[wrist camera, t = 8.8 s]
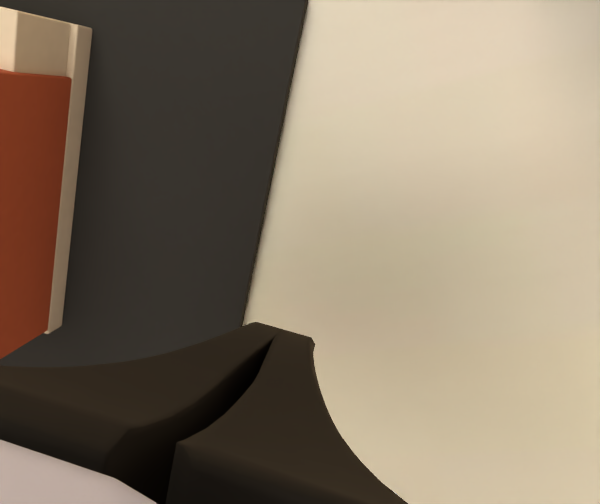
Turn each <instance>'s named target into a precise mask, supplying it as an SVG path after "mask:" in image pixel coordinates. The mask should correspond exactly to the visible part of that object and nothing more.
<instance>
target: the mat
mask: <svg viewBox="0 0 600 504" xmlns="http://www.w3.org/2000/svg"><path fill="white" fill-rule="evenodd" d="M307 3H308V0H0V7H4V8H9V9H13V10H18V11H22V12H26V13H30V14H34V15H39V16H43V17H47V18H51V19H55V20H59V21H64V22H68V23H72V24H77V25H81V26H85V27H89V28H91V29H92V39H91V49H90V58H89V68H88V78H87V87H86V97H85V107H84V116H83V126H82V135H81V145H80V155H79V164H78V174H77V184H76V193H75V203H74V213H73V222H72V232H71V241H70V251H69V261H68V270H67V280H66V290H65V299H64V309H63V318H62V325H61V326H60V327H59V328H57V329H55V330H54V331H52V332H51V333H49V334H45V333H42V334H41V335H39V336H37V337H36V338H34V339H32V340H31V341H29V342H28V343H26V344H24V345H23V346H21V347H19V348H18V349H16V350H14V351H13V352H11V353H9V354H8V355H6V356H5V357H3V358H1V359H0V365H1V366H15V367H73V366H87V365H97V364H107V363H116V362H125V361H131V360H136V359H142V358H147V357H152V356H156V355H160V354H164V353H168V352H172V351H175V350H178V349H181V348H185V347H188V346H191V345H194V344H197V343H201V342H204V341H206V340H209V339H212V338H214V337H217V336H220V335H222V334H225V333H227V332H230V331H232V330H235V329H237V328H240V327H242V322H243V318H244V313H245V308H246V303H247V298H248V293H249V288H250V283H251V278H252V273H253V268H254V263H255V259H256V254H257V249H258V244H259V239H260V234H261V229H262V224H263V219H264V214H265V209H266V205H267V200H268V195H269V190H270V185H271V180H272V175H273V170H274V165H275V160H276V155H277V151H278V146H279V141H280V136H281V131H282V126H283V121H284V116H285V111H286V106H287V101H288V97H289V92H290V87H291V82H292V77H293V72H294V67H295V62H296V57H297V52H298V47H299V43H300V38H301V33H302V28H303V23H304V18H305V13H306V8H307Z"/></svg>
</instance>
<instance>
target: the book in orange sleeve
mask: <svg viewBox="0 0 600 504" xmlns="http://www.w3.org/2000/svg"><path fill="white" fill-rule="evenodd" d="M91 39H92V29H91V28H89V27H85V26H81V25H77V24H72V23H68V22H64V21H59V20H55V19H51V18H47V17H43V16H39V15H34V14H30V13H26V12H22V11H18V10H13V9H9V8H4V7H0V359H1V358H3V357H5V356H6V355H8V354H9V353H11V352H13V351H14V350H16V349H18V348H19V347H21V346H23V345H24V344H26V343H28V342H29V341H31V340H32V339H34V338H36V337H37V336H39V335H41V334H42V333H45V334H49V333H51V332H52V331H54V330H55V329H57V328H59V327H60V326H61V325H62V318H63V309H64V299H65V290H66V280H67V270H68V261H69V251H70V241H71V232H72V222H73V213H74V203H75V193H76V184H77V174H78V164H79V155H80V145H81V135H82V126H83V116H84V107H85V97H86V87H87V78H88V68H89V58H90V49H91Z"/></svg>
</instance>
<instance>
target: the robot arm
mask: <svg viewBox="0 0 600 504" xmlns="http://www.w3.org/2000/svg"><path fill="white" fill-rule="evenodd" d="M314 347H315V343H314V342H313V340H312V338H311V337H307V336H304V335H300V334H297V333H293V332H290V331H286V330H283V329H279V328H276V327H272V326H269V325H265V324H262V323H258V322H254V323H250V324H248V325H245V326H242V327H240V328H237V329H235V330H232V331H230V332H227V333H225V334H222V335H220V336H217V337H214V338H212V339H209V340H206V341H204V342H201V343H197V344H194V345H191V346H188V347H185V348H181V349H178V350H175V351H172V352H168V353H164V354H160V355H156V356H152V357H147V358H142V359H136V360H131V361H125V362H116V363H107V364H97V365H87V366H73V367H15V366H1V365H0V504H408V503H407V502H405V501H404V500H403V499H402V498H400V497H399V496H398V495H397V494H395V493H394V492H393V491H392V490H390V489H389V488H388V487H387V486H385V485H384V484H383V483H382V482H381V481H380V480H378V479H377V478H376V477H375V476H374V474H373V473H372V472H371V471H370V470H369V469H368V468H367V467H366V466H365V465H364V464H363V463H362V462H361V461H360V460H359V459H358V457H357V456H356V455H355V454H354V453H353V452H352V450H351V449H350V448H349V446H348V445H347V443H346V442H345V441H344V439H343V438H342V437H341V435H340V434H339V432H338V430H337V428H336V426H335V424H334V423H333V421H332V419H331V417H330V414H329V412H328V410H327V408H326V405H325V402H324V400H323V397H322V394H321V391H320V388H319V384H318V380H317V376H316V372H315V367H314V359H313V351H314Z"/></svg>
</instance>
